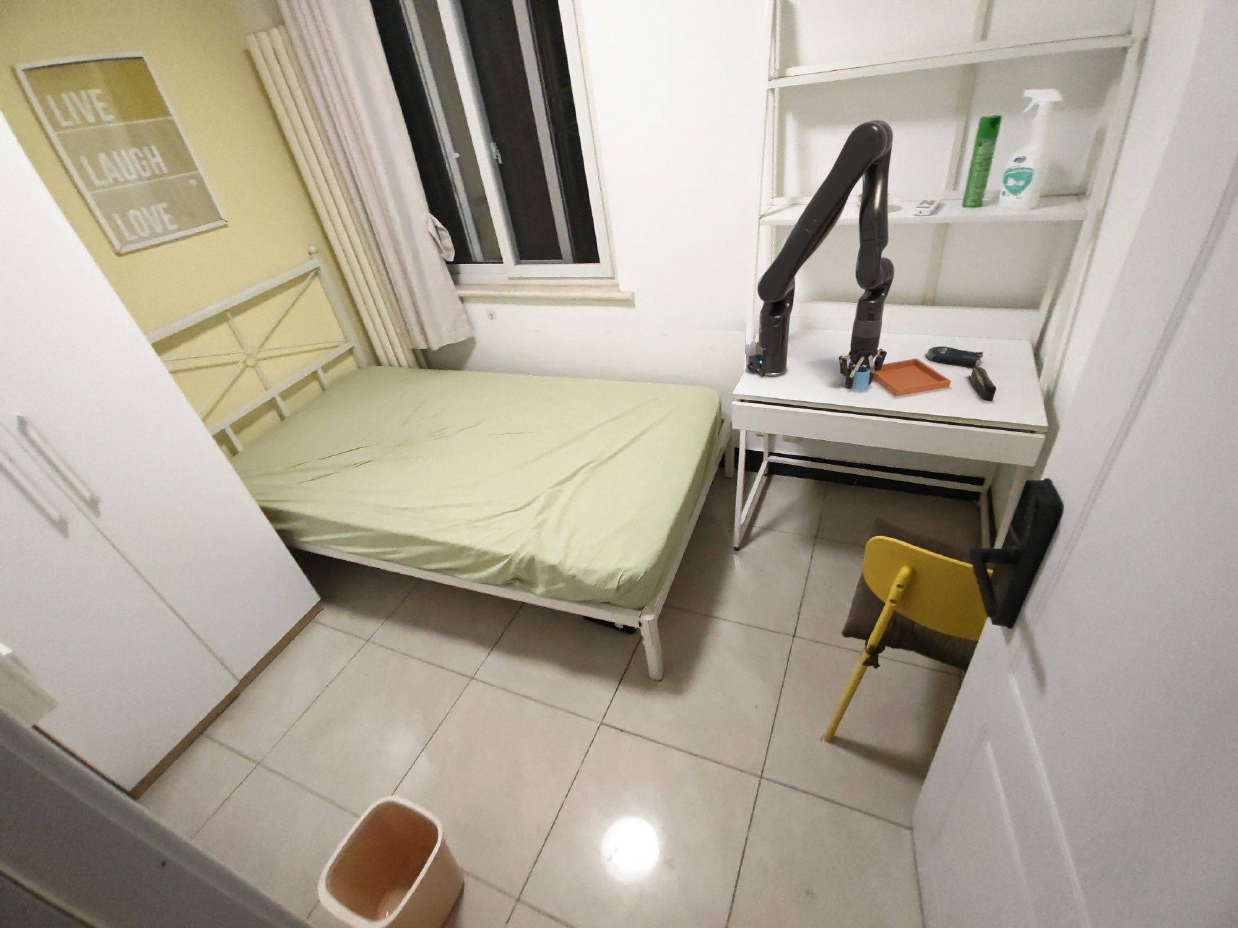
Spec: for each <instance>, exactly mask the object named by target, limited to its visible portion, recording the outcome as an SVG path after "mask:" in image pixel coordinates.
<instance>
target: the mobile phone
mask: <svg viewBox="0 0 1238 928" xmlns="http://www.w3.org/2000/svg"><path fill="white" fill-rule="evenodd" d="M967 378H968V380H969V381H970V382H971V385H972V386H973V387H974V389H975V391H976V393H977V395H978V397H979V398H980V399H981V400H982V401H984V402H993V400H994V397H995V394H996V391H997V386H996V385H995V384H994V383H993V381H992V380H991V378H990V377H989V374H988V371H987V370H986V369H985V368H983V367H981V366H977V367H972V371H971V375H967Z"/></svg>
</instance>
